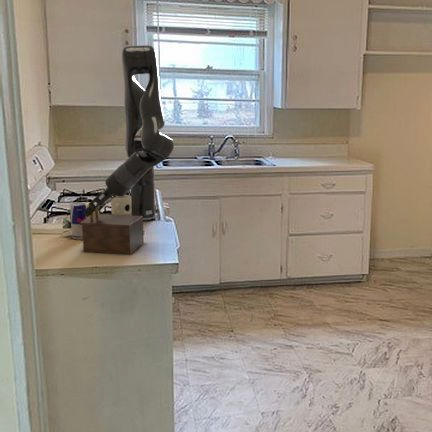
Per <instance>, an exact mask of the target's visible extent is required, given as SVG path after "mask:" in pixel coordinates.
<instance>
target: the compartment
mask: <svg viewBox="0 0 432 432" xmlns="http://www.w3.org/2000/svg"><path fill="white" fill-rule="evenodd" d="M82 233H83V239H82V246H83V248H82V251H83V252H84V253H85V252H86V253H99V254H100V253H101V254H102V253H103V254H118V255H131V254H133V253H134V252H135V251H137V250H138V249H139V248H140V247H141V246H142V245H144V242H145V241H144V221H143V219H141V220H140V221H138V222H137V223H135V224H134V225H133V226H131V227H130V228H126V227H108V226H89V225H82Z"/></svg>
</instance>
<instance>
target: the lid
mask: <svg viewBox="0 0 432 432" xmlns="http://www.w3.org/2000/svg"><path fill="white" fill-rule="evenodd" d="M95 205H97V203H95ZM99 208H100V207H98V208H97V210H95V214H94V215H93V213H92V214H91V215H90V217H89V218H87V219H85V220H83V221H82V222H80V225H89V226H108V227H126V228H130V227H131V226H133V225H134V224H135V223H137V222H138V221H140V220H141V219H143V216H131V214H128V215H114V214H112V213H111V214H109V213H99V214H98V209H99Z"/></svg>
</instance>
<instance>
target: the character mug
mask: <svg viewBox="0 0 432 432" xmlns="http://www.w3.org/2000/svg"><path fill="white" fill-rule="evenodd" d="M110 212H111V214H112V215H131V212H132V209H131V195H129V194H125V195H124V196H122V197H120V196H116V197H115V198H114V199H113V200H112V201H111V202H110Z"/></svg>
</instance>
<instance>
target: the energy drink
mask: <svg viewBox="0 0 432 432" xmlns="http://www.w3.org/2000/svg"><path fill="white" fill-rule="evenodd" d="M86 209H87V204H86V203H85V202H73V203H70V206H69V211H70V229H71V238H72V239H73V240H83V233H82V225H80V222H82V221H83V220H85V219H87V216H86V215H85V214H84V213H83V212H84V211H85V210H86Z"/></svg>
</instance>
